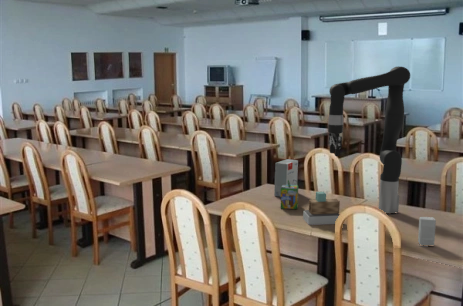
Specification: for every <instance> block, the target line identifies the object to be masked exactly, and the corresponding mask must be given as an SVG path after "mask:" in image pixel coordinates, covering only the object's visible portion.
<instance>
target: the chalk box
mask: <svg viewBox="0 0 463 306" xmlns="http://www.w3.org/2000/svg"><path fill="white" fill-rule="evenodd" d="M298 207H299V185H298V184H297V185H290V183H289V180H288V185H282V187H281V197H280V209H281V210H284V209H285V210H288V209H289V210H298Z"/></svg>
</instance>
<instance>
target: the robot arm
mask: <svg viewBox="0 0 463 306" xmlns="http://www.w3.org/2000/svg"><path fill="white" fill-rule="evenodd" d="M410 78H411V72H410V70H409V69H408V68H407V67H404V66H395V67H394V66H393V68H391V69H390V70H389V71H388V72H384V73H382V74H377V75H371V76H365V77H361V78H356V79H352V80H350V81H345V82H339V83H335V84H333V85H331V86H330V87H329V95H330V104H329V108H328V109H329V113H328V122H327V123H328V124H327V132H328V145H329V153H330V154H334V156H335V157H340V150H341V149H342V148H343V147H342V146H343V145H342V144H343V136H340V135H341V134H343V132H344V131H343V130H344V102H345V96H348V95H357V94H360V93H364V92H369V91H372V90H375V89H378V88H379V89H380V88H383V87H388V90H387V91H388V93H387V99H386V105H385V111H384V123H383V136H382V141H381V148H380V152H379V161H380V163H381V164H382V165H383V167H382V173H380V177H379V194H378V195H379V196H378V208H379V209H381V210H383V211H384V212H386V213H395V212H398V213H399V209H400V208H399V207H400V206H399V205H400V195H399V181H400V176H401V174H402V164H403V162H402V161H403V160H402V159H403V158H402V155H401V153H400V152H399V151H397V145H398V144H397V142H398V137H399V135H400V133H401V131H402V129H403V125H404V119H405V106H404V105H405V104H404V88H405V84H407V83H408V82H409V81H410Z"/></svg>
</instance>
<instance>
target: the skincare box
mask: <svg viewBox="0 0 463 306" xmlns="http://www.w3.org/2000/svg"><path fill="white" fill-rule="evenodd" d="M418 218H419V221H418V235H417V236H418V238H417V243H418V242H419V244H421V245H434V246H435V240H436V238H435V237H436V224H437V220H436V219H435V217H433V216H430V217H429V216H419V217H418ZM419 244H418V245H419Z"/></svg>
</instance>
